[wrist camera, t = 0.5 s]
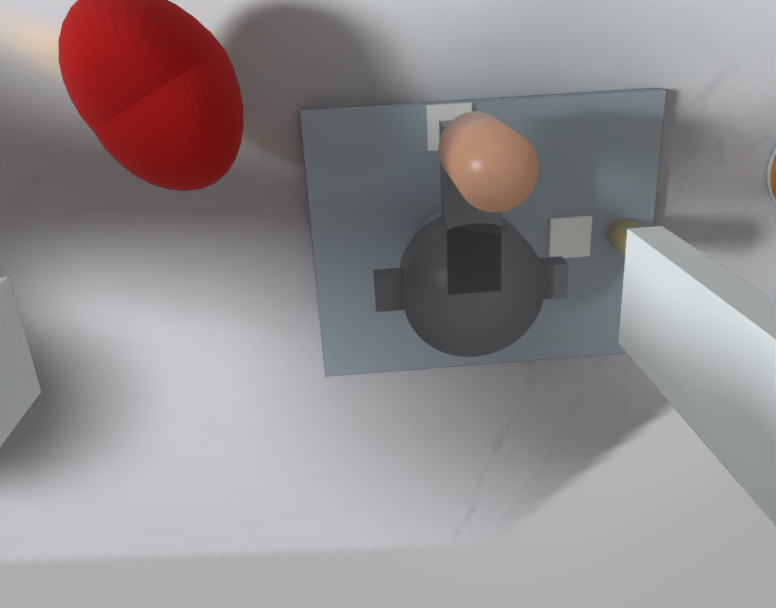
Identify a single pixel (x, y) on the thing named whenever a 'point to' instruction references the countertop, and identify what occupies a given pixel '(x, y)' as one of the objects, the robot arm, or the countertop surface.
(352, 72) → the countertop surface
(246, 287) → the countertop surface
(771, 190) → the pill bottle
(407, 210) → the lock base
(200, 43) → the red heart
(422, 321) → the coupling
